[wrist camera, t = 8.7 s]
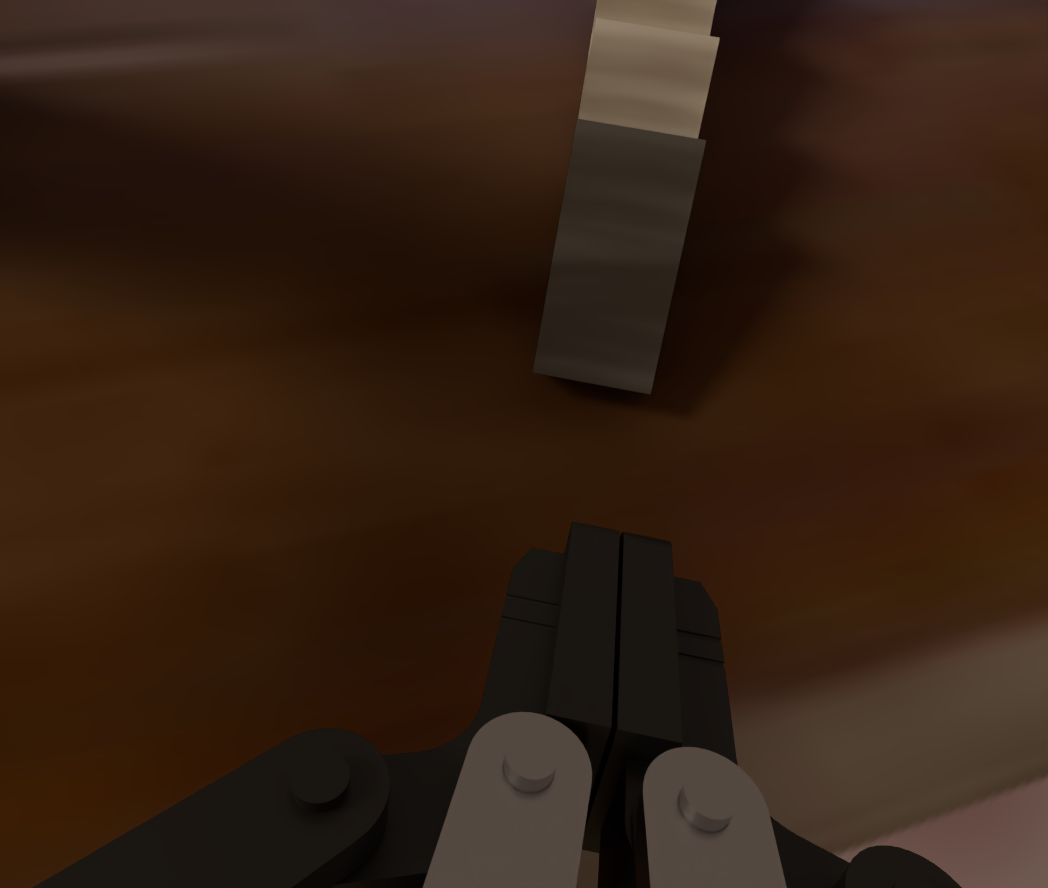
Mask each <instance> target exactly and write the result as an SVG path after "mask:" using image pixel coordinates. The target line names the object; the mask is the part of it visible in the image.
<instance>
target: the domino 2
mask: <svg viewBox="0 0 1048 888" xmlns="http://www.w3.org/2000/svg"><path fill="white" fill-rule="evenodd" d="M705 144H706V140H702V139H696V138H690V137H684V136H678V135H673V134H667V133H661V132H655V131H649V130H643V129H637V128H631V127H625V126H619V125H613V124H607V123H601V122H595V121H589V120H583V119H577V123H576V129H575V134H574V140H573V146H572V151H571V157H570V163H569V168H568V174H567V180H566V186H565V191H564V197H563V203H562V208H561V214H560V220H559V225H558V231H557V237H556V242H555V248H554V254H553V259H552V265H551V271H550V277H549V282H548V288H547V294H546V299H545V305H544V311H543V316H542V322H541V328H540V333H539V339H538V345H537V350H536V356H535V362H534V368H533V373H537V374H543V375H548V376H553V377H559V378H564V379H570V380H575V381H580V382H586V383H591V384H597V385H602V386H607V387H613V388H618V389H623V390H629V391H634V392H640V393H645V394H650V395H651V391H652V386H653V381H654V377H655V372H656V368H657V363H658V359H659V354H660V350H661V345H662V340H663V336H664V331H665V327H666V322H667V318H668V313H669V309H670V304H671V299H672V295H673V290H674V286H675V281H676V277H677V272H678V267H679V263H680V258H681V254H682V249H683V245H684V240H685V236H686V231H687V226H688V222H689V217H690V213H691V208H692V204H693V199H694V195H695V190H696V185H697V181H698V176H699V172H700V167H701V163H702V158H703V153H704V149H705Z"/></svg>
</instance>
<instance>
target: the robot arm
mask: <svg viewBox="0 0 1048 888" xmlns="http://www.w3.org/2000/svg"><path fill="white" fill-rule="evenodd" d="M720 640H721V634H720V626H719V618H718V610H717V608H716V606H715V605H714V603H713V602H712V600H711V598H710V597H709V595H708V594H707V592H706V591H705V589H704V587H703V586H702V584H701V583H700V582H697V581H692V580H687V579H683V578H678V577H673V560H672V545H671V542H670V541H666V540H661V539H656V538H651V537H646V536H641V535H636V534H631V533H626V532H622V533H621V536H620V534H619V531H617V530H612V529H607V528H602V527H597V526H592V525H587V524H582V523H577V522H572V524H571V527H570V532H569V536H568V541H567V545H566V550H565V554H560V553H555V552H550V551H545V550H540V549H535V548H531V549H530V550H529V551H528V553H527V554H526V555H525V556H524V557H523V558H522V559H521V560H520V561H519V562H518V563H517V564H516V565H515V566H514V567H513V570H512V574H511V578H510V583H509V587H508V591H507V596H506V600H505V604H504V608H503V613H502V617H501V621H500V625H499V630H498V634H497V638H496V643H495V647H494V651H493V655H492V660H491V664H490V668H489V672H488V677H487V681H486V685H485V690H484V694H483V698H482V702H481V706H480V709H479V712H478V714H477V716H476V717H475V719H474V721H473V722H472V724H471V725H470V726H469V727H468V729H467V730H465V731H464V732H463V733H462V734H461V735H460V736H459V737H457V738H456V739H454V740H453V741H451V742H449V743H447V744H445V745H443V746H441V747H438V748H434V749H431V750H427V751H421V752H414V753H404V754H393V755H383V756H382V755H381V753H380V752H379V750H378V749H377V748H376V747H375V746H374V745H373V744H372V743H371V742H369V741H368V740H366V739H365V738H364V737H362V736H360V735H358V734H355V733H353V732H350V731H346V730H342V729H333V728H327V729H316V730H311V731H307V732H304V733H301V734H298V735H295V736H293V737H291V738H289V739H287V740H285V741H284V742H282V743H280V744H279V745H277V746H275V747H273V748H272V749H270V750H268V751H267V752H265V753H263V754H261V755H260V756H258V757H256V758H254V759H253V760H251V761H249V762H248V763H246V764H244V765H242V766H241V767H239V768H237V769H236V770H234V771H232V772H230V773H229V774H227V775H225V776H224V777H222V778H220V779H218V780H217V781H215V782H213V783H212V784H210V785H208V786H206V787H205V788H203V789H201V790H199V791H198V792H196V793H194V794H193V795H191V796H189V797H187V798H186V799H184V800H182V801H181V802H179V803H177V804H175V805H174V806H172V807H170V808H169V809H167V810H165V811H163V812H162V813H160V814H158V815H157V816H155V817H153V818H151V819H150V820H148V821H146V822H144V823H143V824H141V825H139V826H138V827H136V828H134V829H132V830H131V831H129V832H127V833H126V834H124V835H122V836H120V837H119V838H117V839H115V840H114V841H112V842H110V843H108V844H107V845H105V846H103V847H102V848H100V849H98V850H96V851H95V852H93V853H91V854H89V855H88V856H86V857H84V858H83V859H81V860H79V861H77V862H76V863H74V864H72V865H71V866H69V867H67V868H65V869H64V870H62V871H60V872H59V873H57V874H55V875H53V876H52V877H50V878H48V879H47V880H45V881H43V882H41V883H40V884H38V885H36V886H34V887H33V888H576V883H577V876H578V870H579V863H580V857H581V850H582V849H583V850H587V851H592V852H596V853H599V873H598V888H961V887H960V886H959V884H957V883H956V882H955V881H954V880H953V879H952V878H951V877H950V876H949V875H948V874H947V873H946V872H944V871H943V870H941V869H940V868H939V867H938V866H936V865H935V864H934V863H932V862H930V861H929V860H927V859H925V858H924V857H922V856H920V855H918V854H915V853H913V852H911V851H908V850H905V849H902V848H899V847H893V846H874V847H869V848H867V849H865V850H863V851H861V852H859V853H858V854H857V855H856V856H855V857H854V858H853V859H852V861H851V862H850V863H848V862H847V861H845V860H843V859H841V858H839V857H837V856H835V855H834V854H832V853H830V852H828V851H826V850H824V849H822V848H820V847H819V846H817V845H815V844H813V843H811V842H809V841H807V840H805V839H803V838H802V837H800V836H798V835H796V834H794V833H793V832H791V831H789V830H788V829H786V828H785V827H783V826H782V825H781V824H779V823H778V822H777V821H775V820H774V819H773V818H772V817H771V816H770V814H769V811H768V808H767V805H766V802H765V800H764V798H763V796H762V794H761V792H760V790H759V789H758V787H757V786H756V784H755V783H754V782H753V780H752V779H751V778H750V777H749V776H748V775H747V774H746V773H745V772H744V771H743V770H742V769H741V768H740V767H739V766H738V764H737V759H736V752H735V744H734V736H733V728H732V720H731V712H730V704H729V697H728V689H727V681H726V673H725V668H723V664H724V657H723V650H722V644H720Z"/></svg>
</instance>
